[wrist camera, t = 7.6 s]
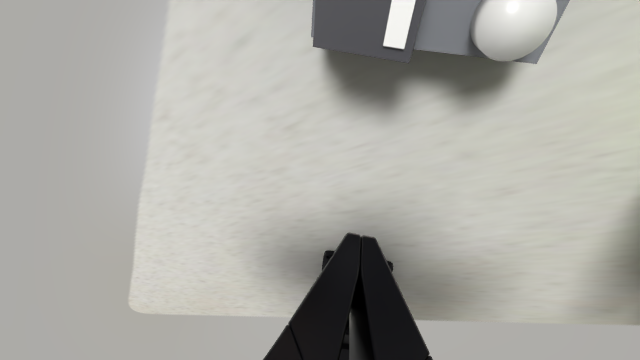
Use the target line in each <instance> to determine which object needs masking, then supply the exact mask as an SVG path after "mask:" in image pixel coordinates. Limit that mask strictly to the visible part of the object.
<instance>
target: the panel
mask: <svg viewBox="0 0 640 360" xmlns="http://www.w3.org/2000/svg"><path fill="white" fill-rule="evenodd" d="M569 1H570V0H426V3H425V7H424V11H423V15H422V19H421V23H420V27H419V30H418V34H417V38H416V42H415V46H414V49H415V50H424V51H432V52H441V53H449V54H458V55H466V56H474V57H483V58H491V59H493V60H496V61H516V62H525V63H533V64H537V62H538V60H539V58H540V56H541V54H542V52H543V51H544V49H545V47H546V45H547V43H548V41H549V39H550V37H551V35H552V33H553V31H554V29H555V28H556V26H557V24H558V22H559V20H560V18H561V16H562V14H563V12H564V10H565V8H566V6H567V5H568V3H569ZM314 18H315V0H313V12H312V33H311V37H314Z"/></svg>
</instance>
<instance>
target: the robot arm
mask: <svg viewBox="0 0 640 360" xmlns="http://www.w3.org/2000/svg"><path fill="white" fill-rule="evenodd" d="M392 271H393V264H392V263H391V262H388V261H386V259H385V257H384V255H383V253H382V251H381V249H380V246H379V244H378V242H377V240H376V239H375V238H374V237H369V236H360V235H359V234H353V233H347V234H346V235H345V237H344V238H343V240H342V241H341V243H340V245H339V246H338V248H337V249H336V251H335V252H334V251H325V253H324V257H323V265H322V272H321V274H320V275H319V277H318V278H317V280H316V281H315V283H314V284H313V286H312V287H311V289H310V291H309V292H308V294H307V295H306V297H305V298H304V300H303V301H302V303H301V304H300V306H299V307H298V309H297V310H296V312H295V314H294V315H293V317H292V318H291V320H290V321H289V323H288V325H287V326H286V327H285V329H284V330H283V332H282V333H281V335H280V336H279V338H278V339H277V341H276V342H275V344H274V345H273V346H272V348H271V349H270V351H269V352H268V353H267V355H266V356H265V358H264V359H263V360H433V359H432V357H431V356H429V351H428V349H427V347H426V344H425V342H424V340H423V338H422V336H421V334H420V332H419V330H418V328H417V326H416V323H415V321H414V319H413V317H412V315H411V312H410V310H409V308H408V306H407V304H406V302H405V300H404V298H403V295H402V293H401V291H400V289H399V287H398V285H397V283H396V281H395V278H394V276H393V274H392Z"/></svg>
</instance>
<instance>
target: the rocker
mask: <svg viewBox="0 0 640 360" xmlns="http://www.w3.org/2000/svg"><path fill="white" fill-rule="evenodd" d="M425 3H426V0H315V18H314V37H313V47H317V48H323V49H329V50H335V51H341V52H347V53H353V54H358V55H364V56H370V57H376V58H382V59H388V60H393V61H399V62H405V63H409V62H410V59H411V57H412V54H413V50H414V46H415V42H416V38H417V34H418V30H419V27H420V23H421V19H422V15H423V11H424V7H425Z"/></svg>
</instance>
